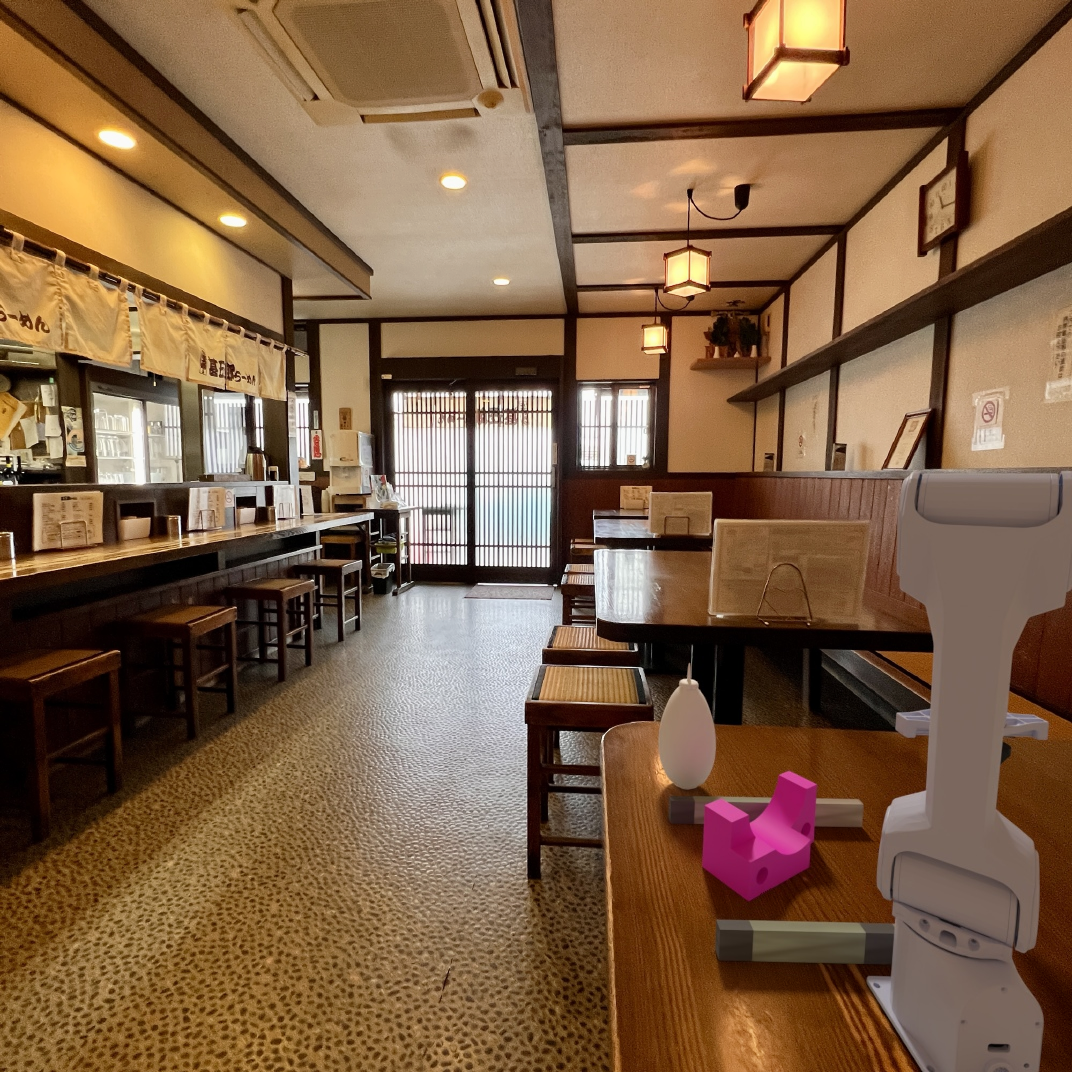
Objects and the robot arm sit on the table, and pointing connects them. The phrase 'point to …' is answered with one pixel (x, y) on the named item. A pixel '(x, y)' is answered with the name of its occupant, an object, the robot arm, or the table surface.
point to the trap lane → (793, 936)
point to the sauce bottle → (687, 736)
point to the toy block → (761, 838)
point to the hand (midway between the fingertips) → (964, 800)
